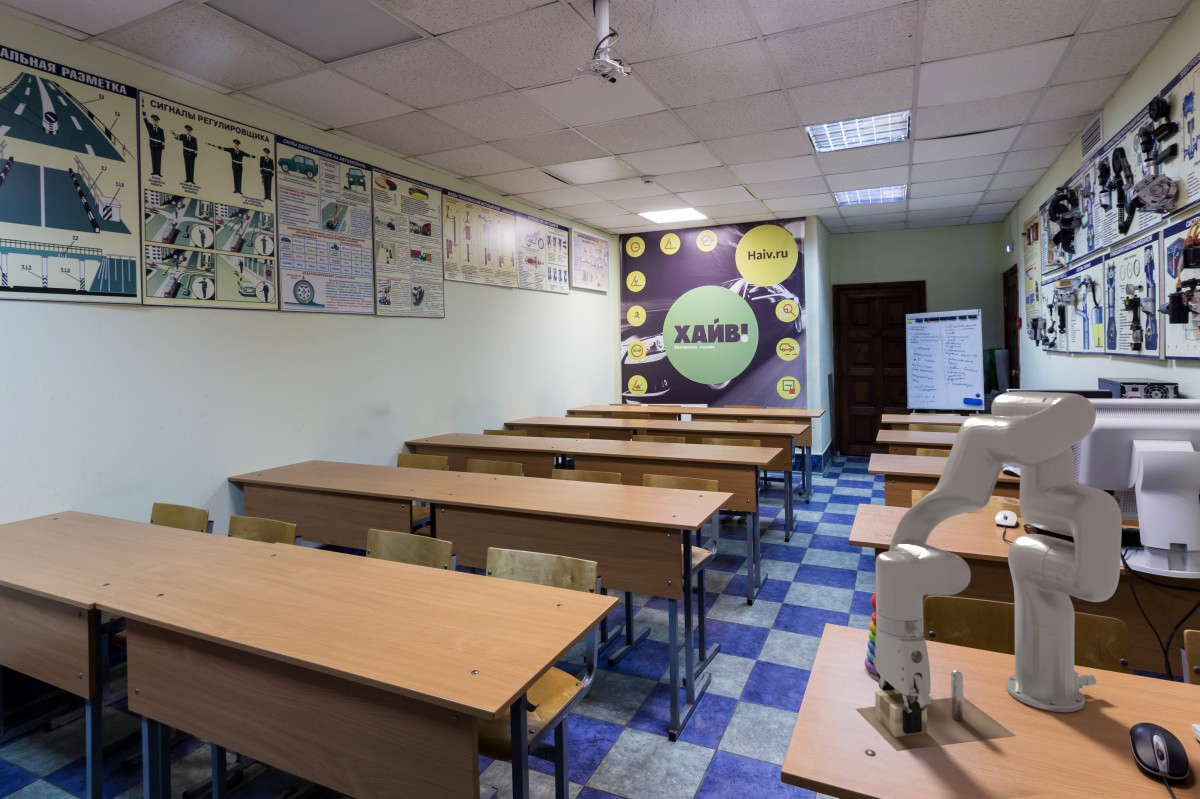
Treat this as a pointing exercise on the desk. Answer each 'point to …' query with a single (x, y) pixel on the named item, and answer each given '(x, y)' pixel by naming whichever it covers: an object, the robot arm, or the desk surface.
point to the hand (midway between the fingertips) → (900, 720)
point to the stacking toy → (871, 644)
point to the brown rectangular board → (942, 726)
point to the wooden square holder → (895, 711)
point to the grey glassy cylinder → (957, 695)
